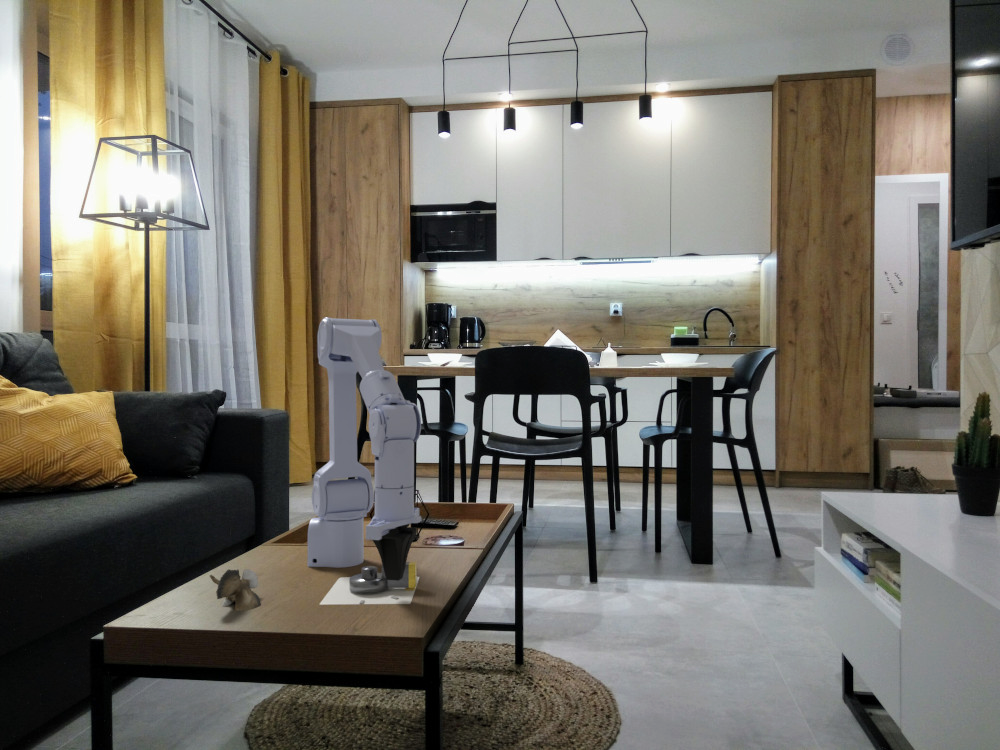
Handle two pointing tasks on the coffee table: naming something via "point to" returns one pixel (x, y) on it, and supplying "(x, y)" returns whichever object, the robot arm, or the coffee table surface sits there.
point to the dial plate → (366, 595)
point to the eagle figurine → (238, 589)
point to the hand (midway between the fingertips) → (394, 578)
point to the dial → (382, 580)
